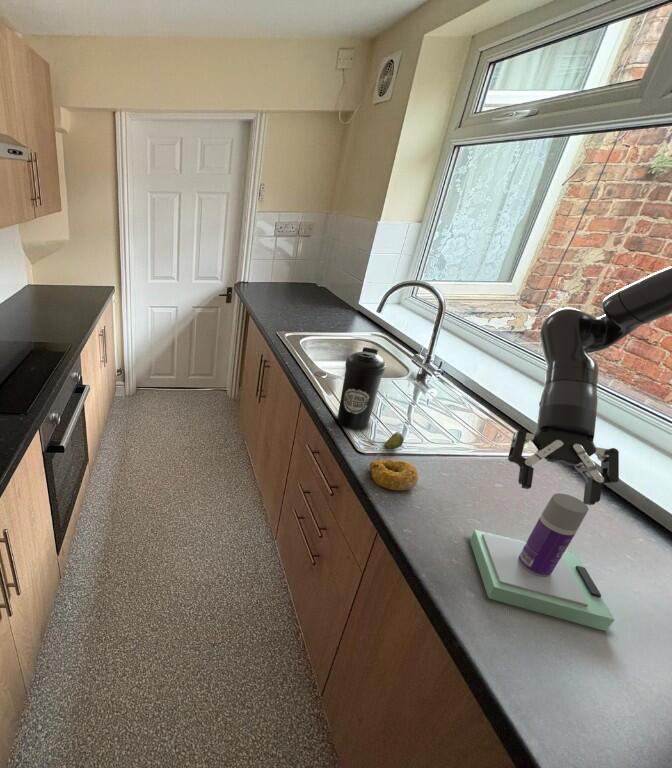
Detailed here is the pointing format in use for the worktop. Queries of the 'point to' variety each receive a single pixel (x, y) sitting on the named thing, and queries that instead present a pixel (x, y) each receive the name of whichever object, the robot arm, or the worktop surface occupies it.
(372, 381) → the water bottle
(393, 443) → the lime
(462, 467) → the worktop surface
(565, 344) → the robot arm
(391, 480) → the bagel
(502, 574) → the scale
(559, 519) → the container
